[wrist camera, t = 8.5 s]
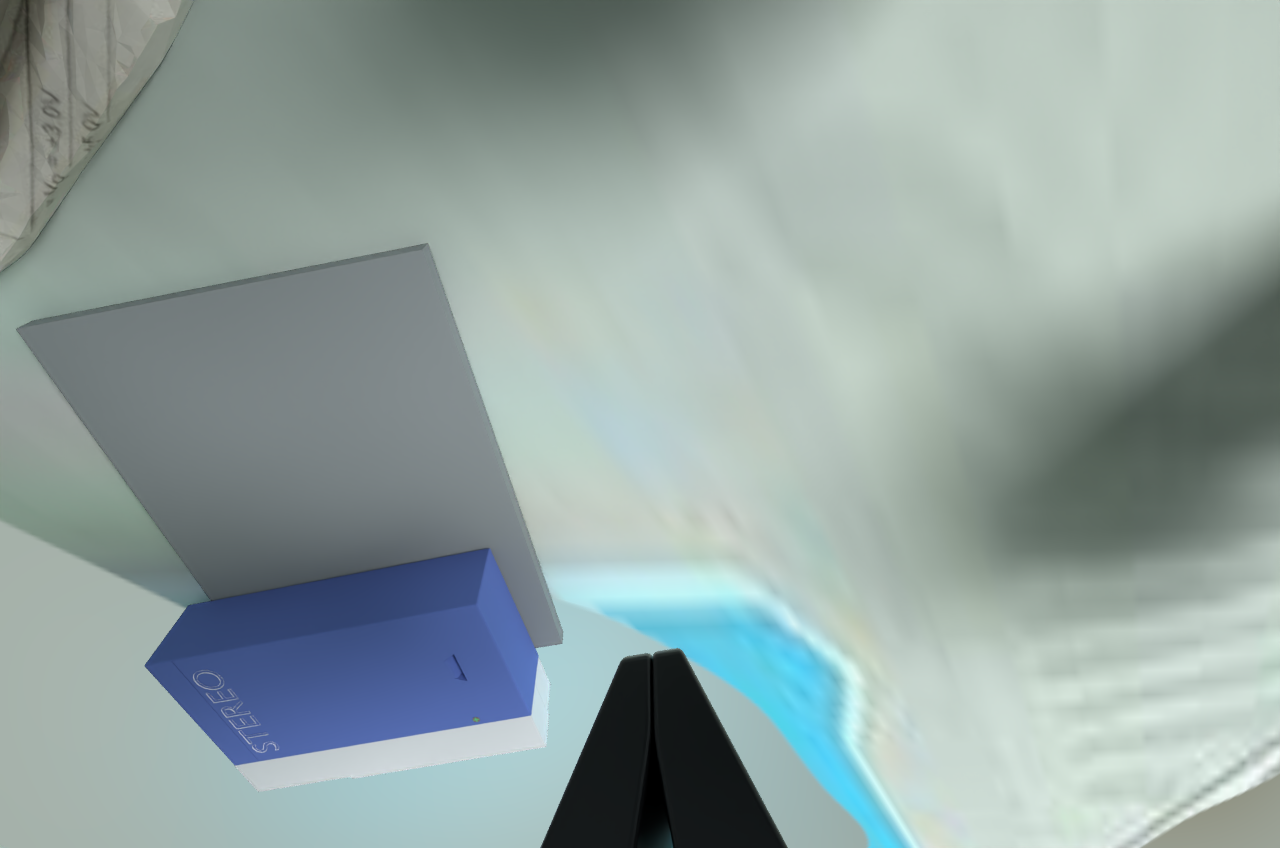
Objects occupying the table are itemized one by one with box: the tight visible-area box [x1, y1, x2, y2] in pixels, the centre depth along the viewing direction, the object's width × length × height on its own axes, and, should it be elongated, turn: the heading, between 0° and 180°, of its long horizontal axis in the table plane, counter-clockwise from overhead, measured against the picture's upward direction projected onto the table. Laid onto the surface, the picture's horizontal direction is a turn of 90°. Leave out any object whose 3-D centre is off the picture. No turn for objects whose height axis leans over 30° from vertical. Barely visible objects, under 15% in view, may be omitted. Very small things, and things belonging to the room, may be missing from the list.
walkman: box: [145, 548, 550, 792], centre depth 25 cm, size 8×3×12 cm
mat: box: [16, 244, 563, 648], centre depth 23 cm, size 12×16×1 cm
